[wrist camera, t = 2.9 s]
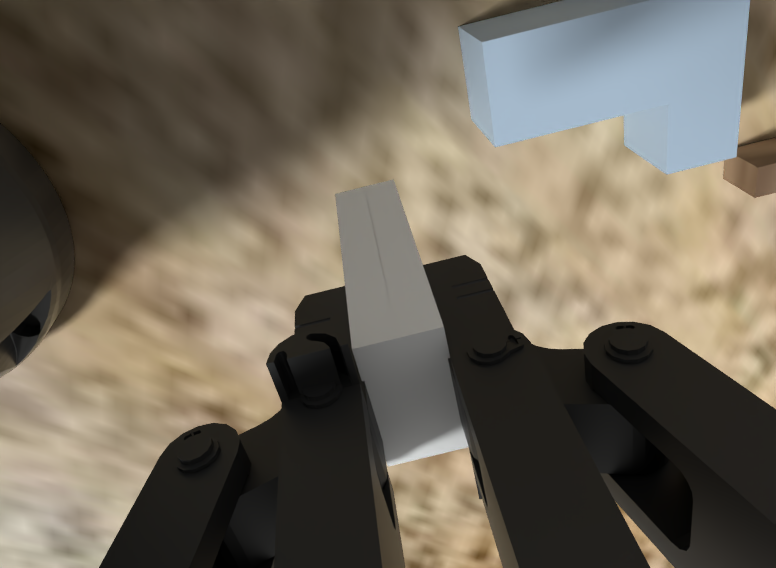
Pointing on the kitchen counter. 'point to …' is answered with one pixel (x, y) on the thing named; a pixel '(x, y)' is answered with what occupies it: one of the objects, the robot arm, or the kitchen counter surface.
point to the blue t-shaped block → (614, 74)
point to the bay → (753, 168)
